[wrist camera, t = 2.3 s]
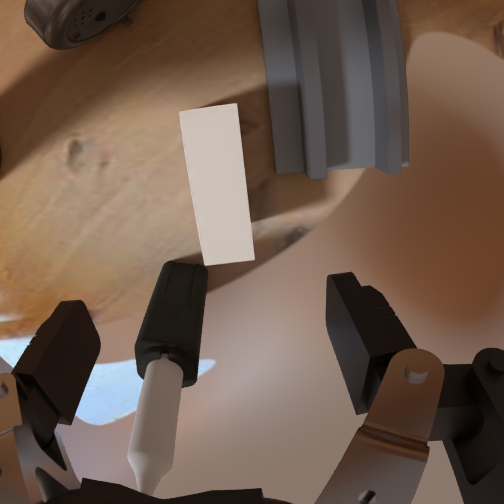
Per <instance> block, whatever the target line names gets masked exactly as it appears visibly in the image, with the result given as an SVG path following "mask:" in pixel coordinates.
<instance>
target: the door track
mask: <svg viewBox="0 0 504 504" xmlns="http://www.w3.org/2000/svg"><path fill="white" fill-rule="evenodd" d="M257 5H258V13H259V21H260V29H261V37H262V45H263V54H264V62H265V71H266V80H267V90H268V99H269V109H270V119H271V129H272V140H273V150H274V161H275V172H276V174H286V173H297V172H305V173H306V174H307V175H308V176H309V177H310V178H311V179H322V178H327V170H336V169H353V168H372V167H375V168H377V169H379V170H381V171H383V172H385V173H387V174H401V167H402V166H409V116H408V95H407V78H406V67H405V56H404V47H403V39H402V32H401V25H400V18H399V12H398V7H397V1H396V0H257Z"/></svg>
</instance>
